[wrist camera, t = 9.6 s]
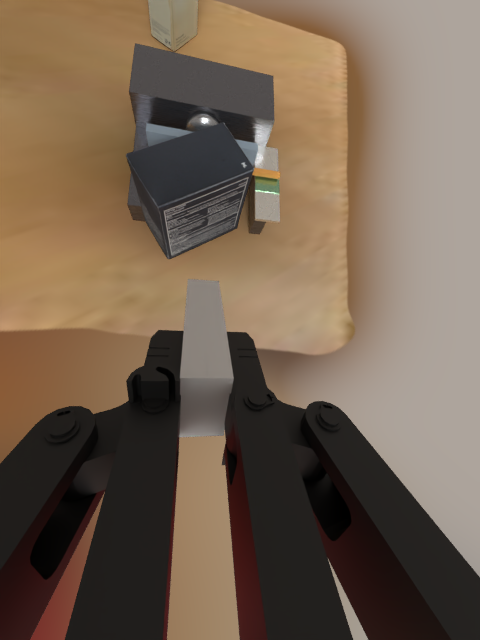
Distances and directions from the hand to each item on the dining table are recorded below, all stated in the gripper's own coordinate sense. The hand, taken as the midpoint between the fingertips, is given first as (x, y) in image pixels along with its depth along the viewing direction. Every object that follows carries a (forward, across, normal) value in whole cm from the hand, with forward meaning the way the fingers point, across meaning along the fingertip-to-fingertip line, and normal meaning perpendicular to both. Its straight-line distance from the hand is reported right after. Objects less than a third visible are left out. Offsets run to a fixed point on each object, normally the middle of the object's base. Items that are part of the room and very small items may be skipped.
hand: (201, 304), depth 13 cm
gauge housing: (+30, 0, +4) cm, 30 cm away
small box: (+24, -1, -2) cm, 24 cm away
